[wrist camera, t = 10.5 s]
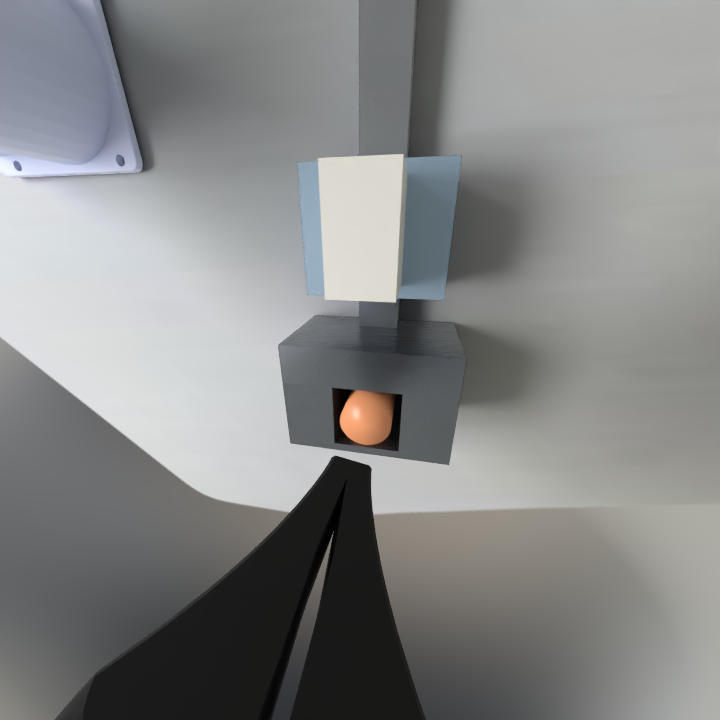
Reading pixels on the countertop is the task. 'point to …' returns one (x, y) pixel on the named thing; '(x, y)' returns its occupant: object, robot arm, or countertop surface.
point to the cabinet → (374, 383)
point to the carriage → (378, 226)
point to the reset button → (368, 416)
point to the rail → (385, 101)
